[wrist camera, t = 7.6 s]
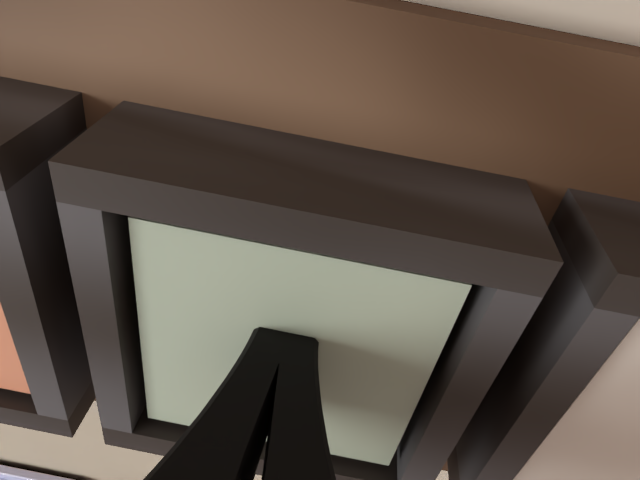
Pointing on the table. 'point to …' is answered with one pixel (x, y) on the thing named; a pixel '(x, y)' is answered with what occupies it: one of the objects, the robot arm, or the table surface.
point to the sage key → (288, 327)
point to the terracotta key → (10, 361)
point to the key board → (322, 195)
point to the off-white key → (597, 425)
